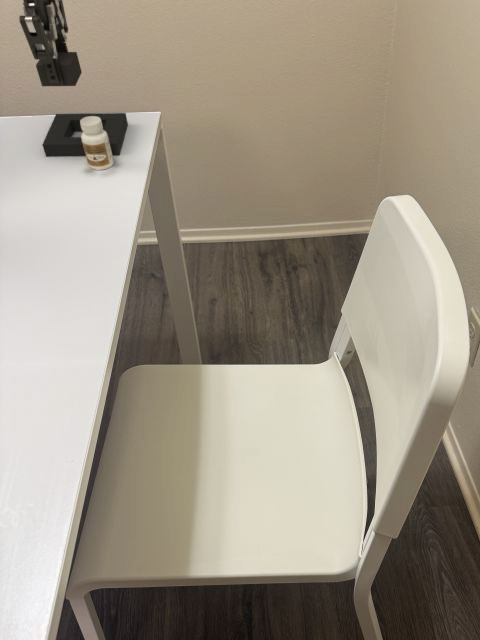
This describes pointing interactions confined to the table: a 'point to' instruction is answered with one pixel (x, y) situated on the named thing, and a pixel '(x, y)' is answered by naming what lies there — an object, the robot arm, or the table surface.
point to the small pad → (63, 69)
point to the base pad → (66, 124)
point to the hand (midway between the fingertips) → (61, 76)
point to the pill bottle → (96, 143)
